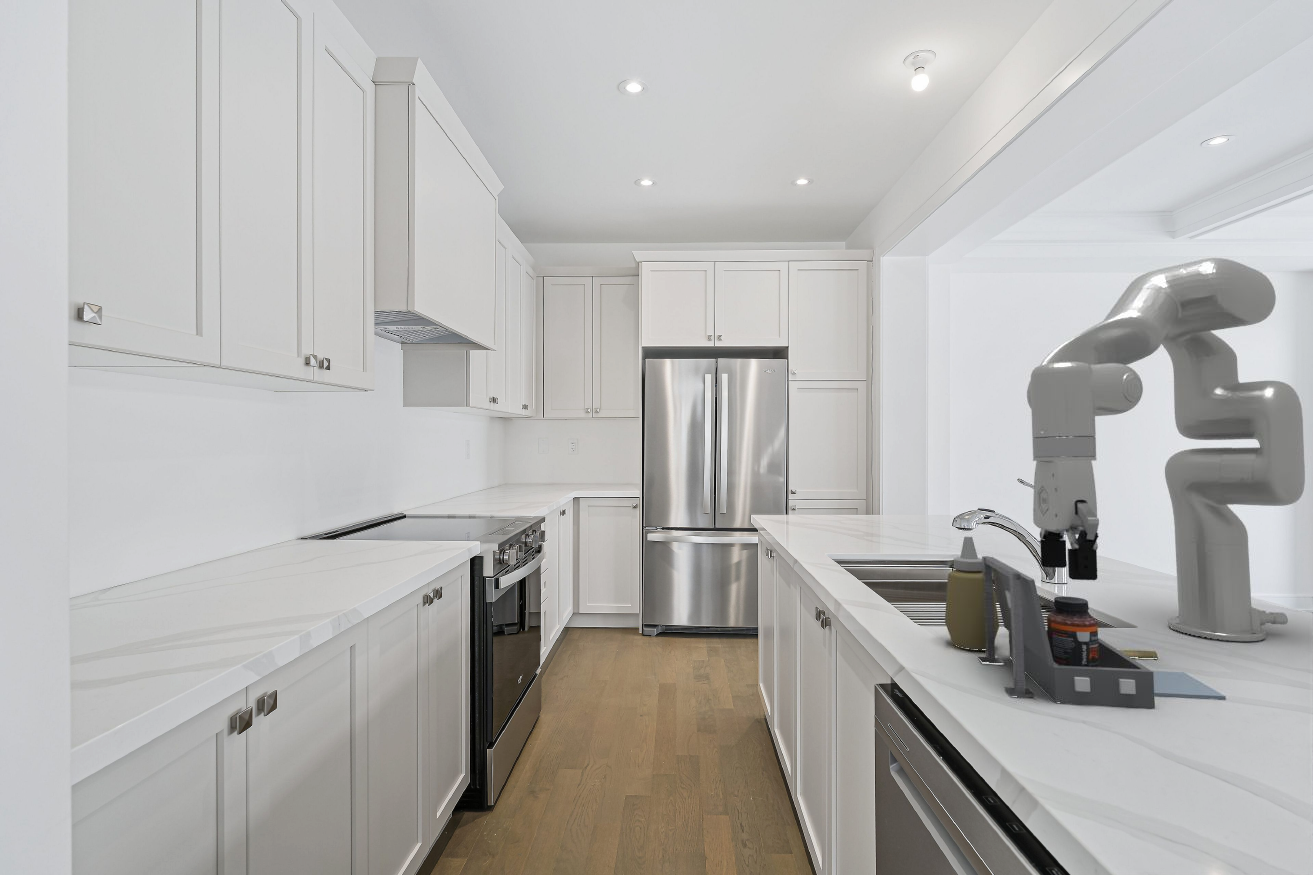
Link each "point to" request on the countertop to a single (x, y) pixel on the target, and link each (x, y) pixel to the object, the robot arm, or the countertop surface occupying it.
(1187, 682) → the mat
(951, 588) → the squeeze bottle
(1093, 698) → the case
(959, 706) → the countertop surface
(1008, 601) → the lid
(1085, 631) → the supplement bottle
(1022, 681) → the stay bracket
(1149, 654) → the rod
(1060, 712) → the countertop surface
